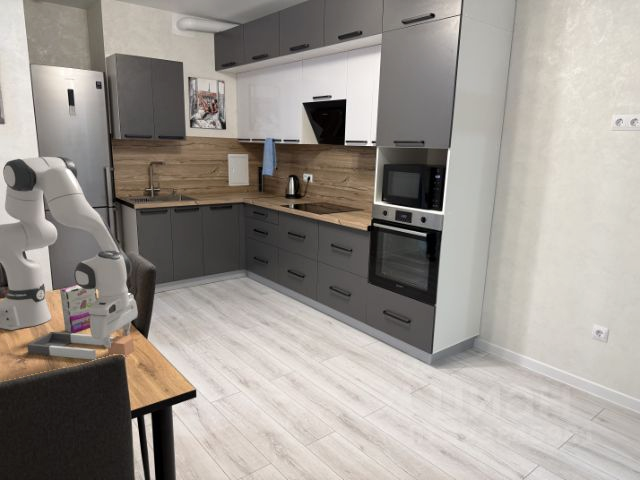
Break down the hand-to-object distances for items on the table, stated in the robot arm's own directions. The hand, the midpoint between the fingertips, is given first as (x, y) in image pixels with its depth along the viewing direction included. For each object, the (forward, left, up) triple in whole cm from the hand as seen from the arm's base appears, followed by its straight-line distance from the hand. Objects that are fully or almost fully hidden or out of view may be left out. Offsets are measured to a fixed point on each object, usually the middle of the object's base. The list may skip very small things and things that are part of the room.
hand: (117, 340), depth 148 cm
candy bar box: (-26, +17, -5) cm, 32 cm away
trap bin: (-25, 0, -5) cm, 26 cm away
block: (+1, 0, -5) cm, 5 cm away
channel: (-13, 0, -5) cm, 14 cm away
